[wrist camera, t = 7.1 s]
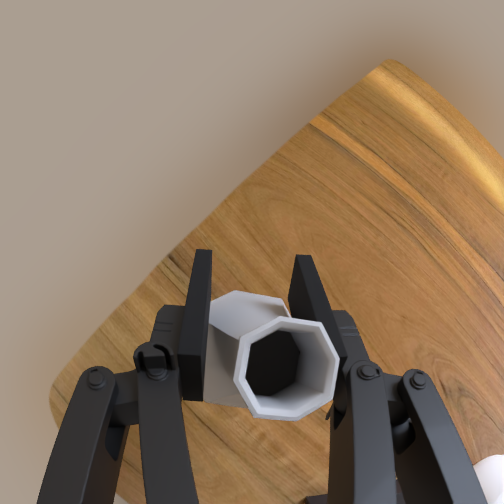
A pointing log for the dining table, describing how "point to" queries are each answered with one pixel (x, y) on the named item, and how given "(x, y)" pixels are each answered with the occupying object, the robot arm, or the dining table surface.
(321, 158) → the dining table surface
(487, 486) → the teapot
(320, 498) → the button box
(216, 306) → the flask
